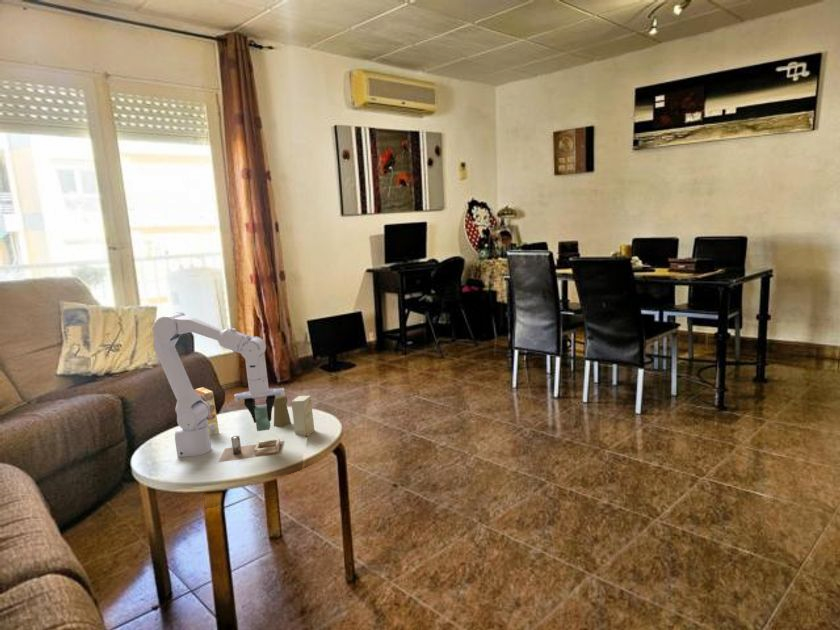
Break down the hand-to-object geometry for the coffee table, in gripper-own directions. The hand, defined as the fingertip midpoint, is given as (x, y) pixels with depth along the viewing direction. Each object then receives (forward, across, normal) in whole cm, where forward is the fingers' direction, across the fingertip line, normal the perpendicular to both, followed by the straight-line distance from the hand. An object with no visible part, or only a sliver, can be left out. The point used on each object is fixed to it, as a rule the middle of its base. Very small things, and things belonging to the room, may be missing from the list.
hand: (262, 420), depth 165 cm
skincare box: (+10, -11, -10) cm, 18 cm away
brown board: (+10, +4, +2) cm, 10 cm away
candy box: (+10, +22, -22) cm, 33 cm away
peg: (+2, 0, 0) cm, 3 cm away
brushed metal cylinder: (+8, +8, +2) cm, 12 cm away
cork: (+10, -3, -20) cm, 23 cm away
